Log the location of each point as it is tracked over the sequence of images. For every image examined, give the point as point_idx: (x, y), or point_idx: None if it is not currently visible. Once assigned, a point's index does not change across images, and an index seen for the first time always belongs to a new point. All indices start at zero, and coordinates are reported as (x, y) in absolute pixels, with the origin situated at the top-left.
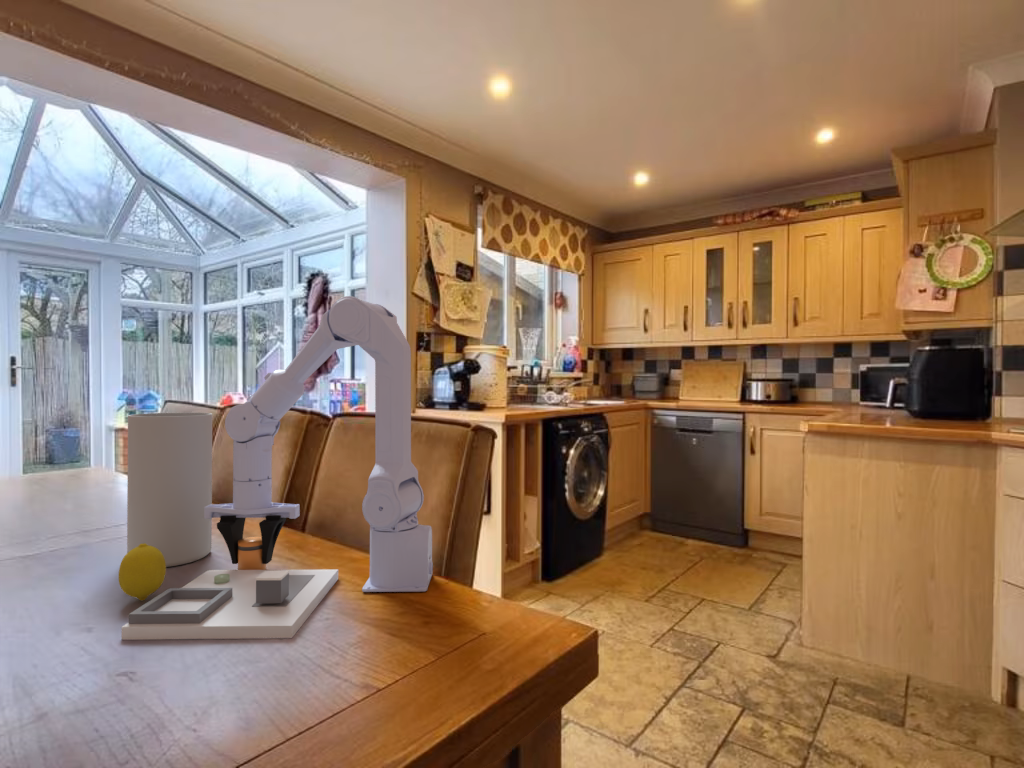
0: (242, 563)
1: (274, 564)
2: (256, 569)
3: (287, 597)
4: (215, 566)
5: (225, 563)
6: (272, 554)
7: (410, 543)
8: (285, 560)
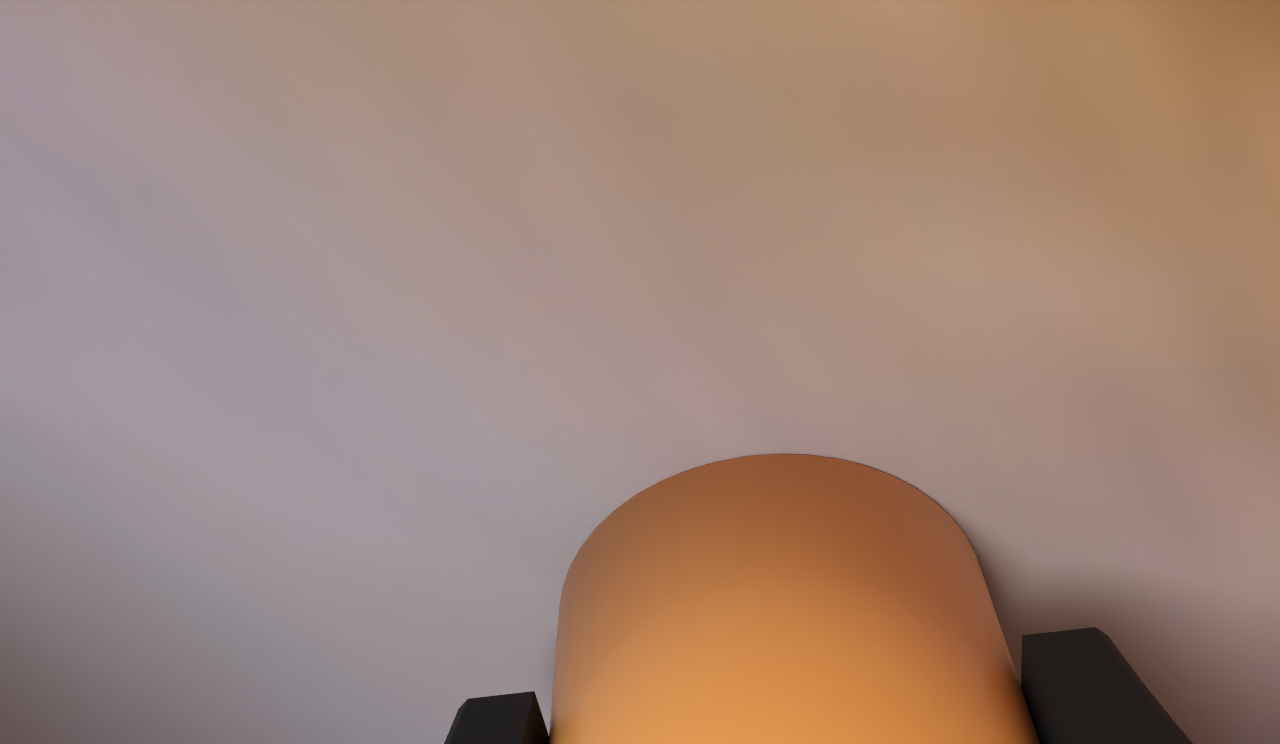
0: None
1: (1010, 313)
2: None
3: None
4: (4, 532)
5: (22, 389)
6: (1151, 695)
7: None
8: (1161, 49)
